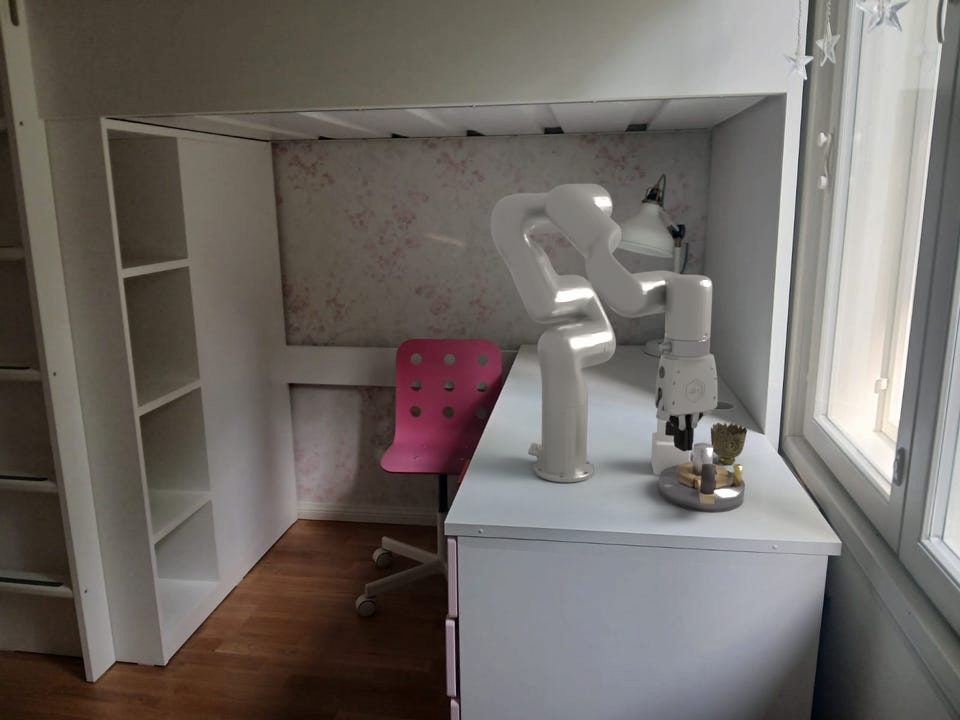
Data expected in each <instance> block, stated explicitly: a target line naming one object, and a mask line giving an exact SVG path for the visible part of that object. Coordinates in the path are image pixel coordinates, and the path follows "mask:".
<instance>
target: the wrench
mask: <svg viewBox="0 0 960 720" xmlns="http://www.w3.org/2000/svg"><path fill="white" fill-rule="evenodd" d="M692 469H693V460H692V461H690V462H689V461H688V462H685V463H682V464H679V465H678V466H676V478H677V480H678V481H679V482H681V483H683V484H686V485H688V486H690V487H693V486H695V488H697V489H698V494H699V499H700V503H705V504H714V500H715V495H714V488H715V489H717V488H719V487H722V486H725V485H727V484H728V478H729V475H728V472H727V471H728V470H727V469H726V468H725V467H723V466H721V465H718V464H715V463H713V462H712V464H703V465H702V472H701V476H696V475H694V474H692Z"/></svg>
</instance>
